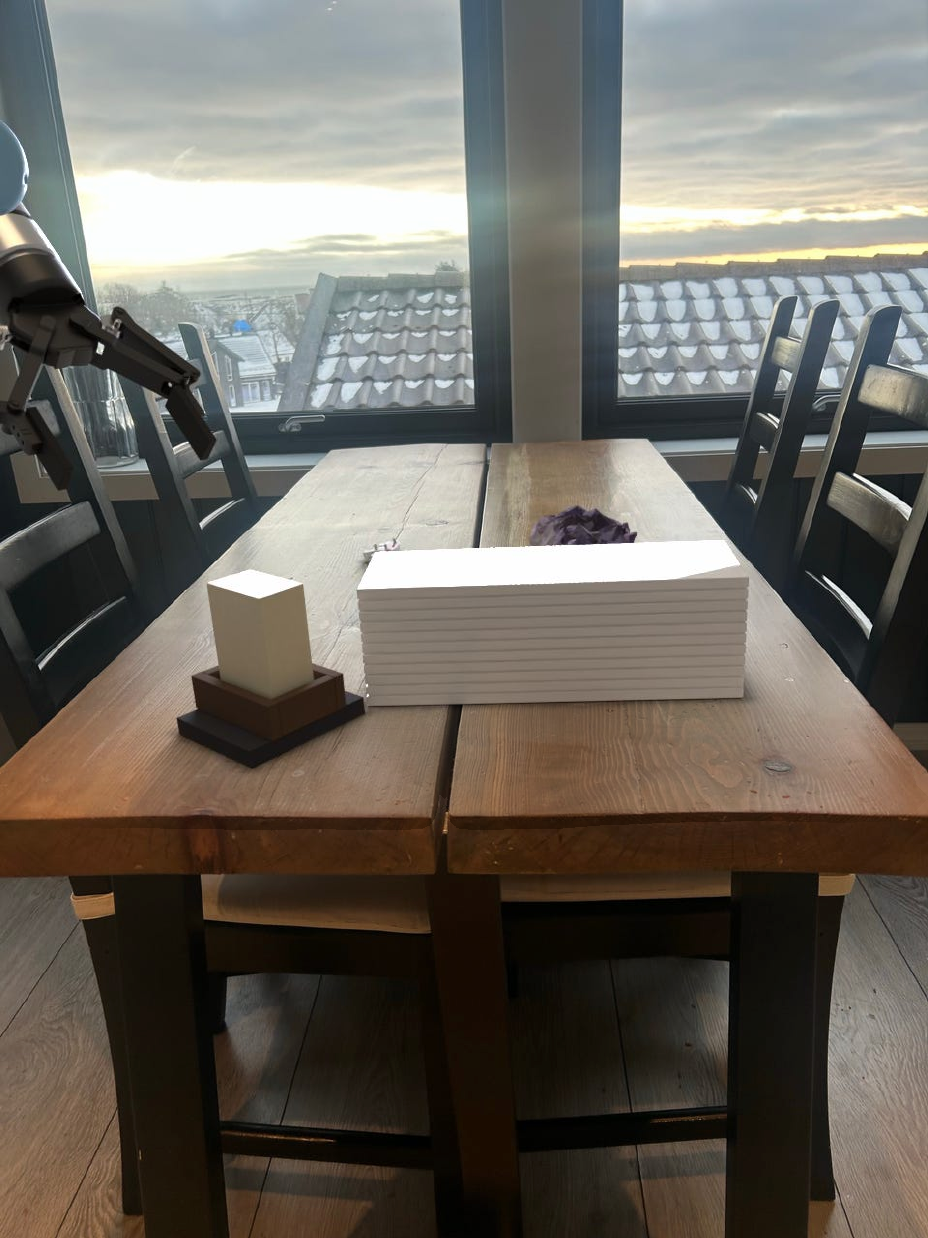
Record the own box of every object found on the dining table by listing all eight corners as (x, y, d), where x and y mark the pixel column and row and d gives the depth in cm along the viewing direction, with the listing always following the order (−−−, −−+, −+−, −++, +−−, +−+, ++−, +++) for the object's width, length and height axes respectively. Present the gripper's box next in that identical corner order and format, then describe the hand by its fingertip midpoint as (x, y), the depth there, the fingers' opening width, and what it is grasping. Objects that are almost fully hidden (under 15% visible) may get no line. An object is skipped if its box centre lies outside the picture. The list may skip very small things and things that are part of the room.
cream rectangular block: (275, 727, 80) (258, 598, 76) (224, 706, 85) (205, 583, 81) (317, 708, 83) (303, 583, 79) (265, 688, 88) (250, 568, 84)
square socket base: (253, 769, 77) (245, 716, 76) (177, 733, 84) (169, 684, 82) (366, 713, 85) (362, 665, 84) (289, 684, 92) (284, 639, 90)
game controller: (362, 556, 130) (360, 536, 129) (449, 547, 131) (448, 528, 131) (366, 568, 124) (364, 548, 123) (457, 559, 126) (456, 539, 125)
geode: (678, 618, 103) (669, 527, 99) (570, 644, 102) (556, 553, 98) (618, 556, 121) (608, 477, 117) (526, 577, 120) (513, 498, 116)
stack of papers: (367, 706, 87) (356, 589, 83) (384, 658, 97) (374, 552, 93) (743, 698, 84) (749, 576, 80) (720, 650, 94) (724, 539, 90)
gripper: (137, 303, 101) (246, 465, 96) (-129, 324, 84) (-12, 522, 79) (158, 244, 95) (274, 413, 91) (-122, 254, 78) (4, 462, 74)
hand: (141, 464), depth 85 cm, fingers open, 13 cm apart
